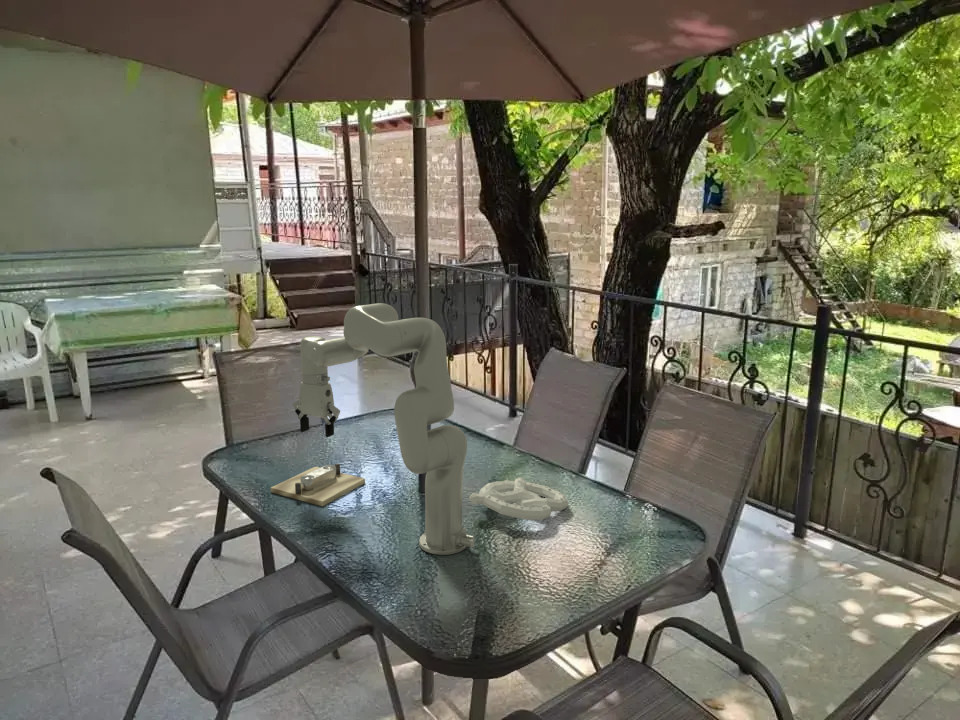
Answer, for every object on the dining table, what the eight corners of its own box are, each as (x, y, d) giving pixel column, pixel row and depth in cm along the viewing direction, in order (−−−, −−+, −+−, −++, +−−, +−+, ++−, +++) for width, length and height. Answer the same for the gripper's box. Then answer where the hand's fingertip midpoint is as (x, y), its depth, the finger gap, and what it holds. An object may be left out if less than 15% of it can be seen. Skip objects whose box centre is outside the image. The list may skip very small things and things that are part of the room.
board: (365, 482, 220) (364, 469, 219) (322, 506, 202) (321, 491, 201) (315, 470, 229) (315, 457, 228) (270, 492, 212) (270, 478, 211)
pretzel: (509, 488, 221) (511, 469, 220) (576, 510, 208) (579, 489, 207) (457, 508, 198) (460, 486, 197) (530, 533, 185) (533, 510, 184)
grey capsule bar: (338, 476, 220) (338, 466, 219) (308, 492, 208) (307, 481, 207) (328, 474, 222) (328, 463, 221) (298, 489, 210) (297, 478, 209)
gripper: (346, 379, 207) (347, 434, 211) (301, 372, 215) (303, 425, 219) (329, 384, 201) (331, 441, 204) (284, 377, 209) (286, 432, 212)
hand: (317, 433), depth 212 cm, fingers open, 9 cm apart
